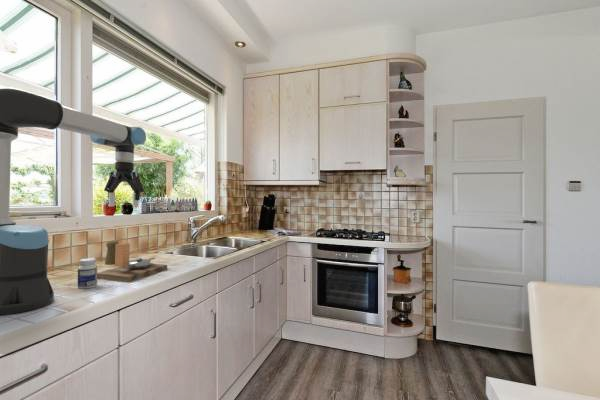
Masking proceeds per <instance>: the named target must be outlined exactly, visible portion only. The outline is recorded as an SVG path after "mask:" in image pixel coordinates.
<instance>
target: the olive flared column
mask: <svg viewBox="0 0 600 400" xmlns="http://www.w3.org/2000/svg"><path fill="white" fill-rule="evenodd" d="M118 243H119V241H118V240H110V241H109V240H108V241H107V242H106V245H105V246H106V248H107V250H106V254H105V255H106V256H105V260H104V261H105V262H104V265H107V266H108V265H110V266H111V265H112V266H113V265H115V246H116V244H118Z"/></svg>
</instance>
